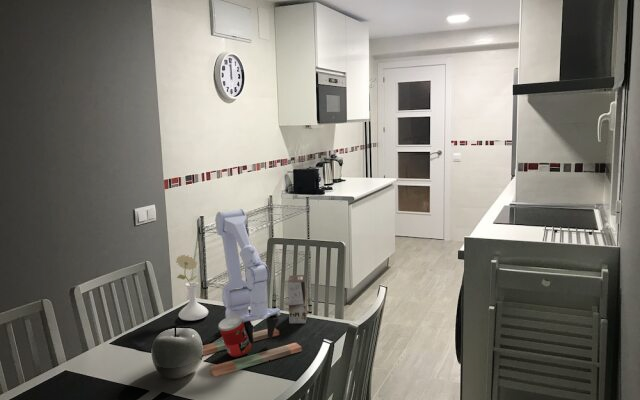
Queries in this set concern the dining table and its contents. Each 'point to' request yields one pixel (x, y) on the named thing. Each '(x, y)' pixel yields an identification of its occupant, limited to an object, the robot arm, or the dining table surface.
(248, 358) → the orange green bars
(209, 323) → the dining table surface
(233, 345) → the canned food
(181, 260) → the flower in vase
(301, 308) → the coffee box
